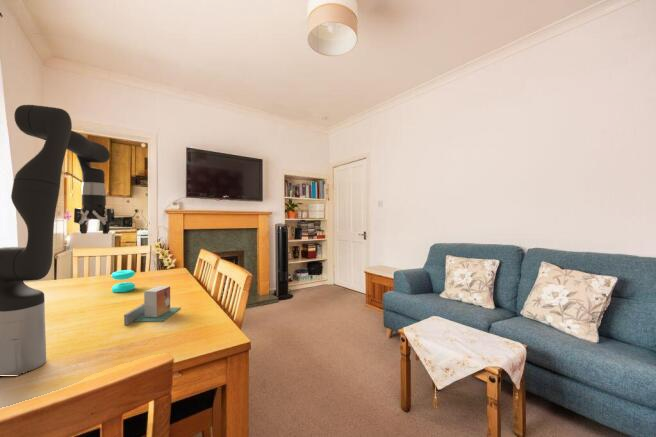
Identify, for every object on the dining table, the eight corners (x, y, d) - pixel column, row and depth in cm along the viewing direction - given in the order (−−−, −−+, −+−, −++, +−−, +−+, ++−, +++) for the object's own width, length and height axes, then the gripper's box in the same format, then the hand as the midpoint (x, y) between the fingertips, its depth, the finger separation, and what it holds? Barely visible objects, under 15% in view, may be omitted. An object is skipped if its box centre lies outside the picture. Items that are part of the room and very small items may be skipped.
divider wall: (127, 325, 104) (127, 314, 104) (124, 325, 104) (124, 314, 104) (157, 306, 124) (157, 297, 124) (154, 306, 124) (154, 297, 124)
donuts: (139, 270, 150) (120, 274, 140) (139, 288, 150) (121, 294, 141) (125, 269, 153) (106, 273, 143) (125, 287, 153) (106, 292, 144)
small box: (156, 318, 110) (156, 291, 109) (144, 317, 111) (143, 291, 110) (170, 310, 118) (170, 286, 117) (159, 309, 118) (158, 285, 118)
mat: (163, 321, 108) (163, 320, 107) (133, 321, 107) (133, 320, 107) (180, 308, 121) (180, 307, 121) (154, 308, 121) (154, 307, 121)
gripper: (67, 193, 110) (68, 234, 110) (105, 193, 110) (106, 234, 111) (83, 194, 117) (84, 232, 118) (118, 194, 118) (119, 232, 118)
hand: (94, 233), depth 114 cm, fingers open, 8 cm apart
